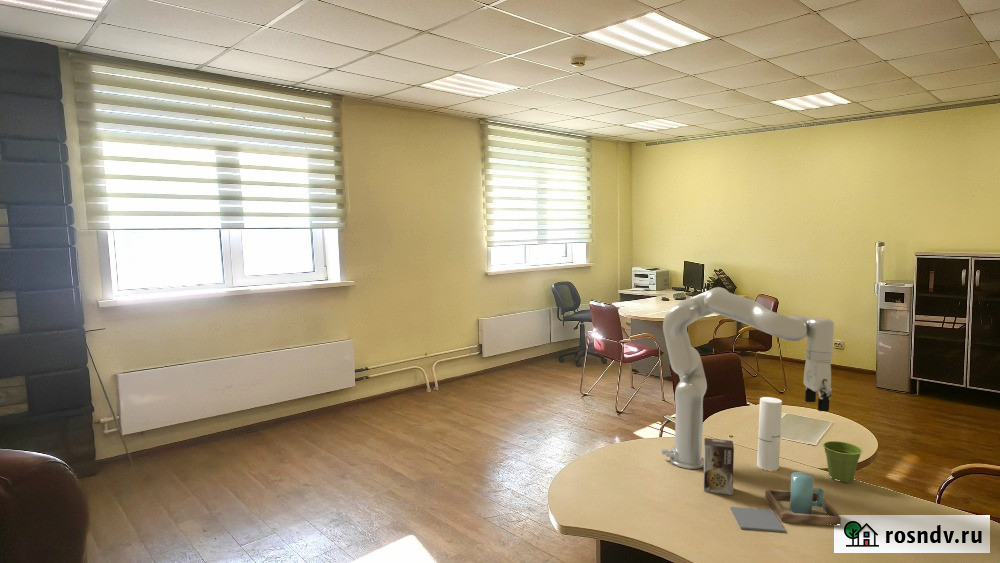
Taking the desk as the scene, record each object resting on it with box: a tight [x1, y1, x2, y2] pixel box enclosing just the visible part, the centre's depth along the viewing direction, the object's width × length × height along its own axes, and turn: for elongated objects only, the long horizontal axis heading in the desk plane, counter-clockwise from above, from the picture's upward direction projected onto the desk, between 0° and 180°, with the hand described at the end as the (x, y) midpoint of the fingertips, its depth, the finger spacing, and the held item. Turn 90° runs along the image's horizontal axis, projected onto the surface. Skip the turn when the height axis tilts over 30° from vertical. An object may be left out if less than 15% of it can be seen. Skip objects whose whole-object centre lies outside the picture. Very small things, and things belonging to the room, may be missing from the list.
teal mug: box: [789, 471, 825, 514], centre depth 171 cm, size 9×6×11 cm, turn 81°
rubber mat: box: [730, 506, 786, 533], centre depth 166 cm, size 12×12×1 cm
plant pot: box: [822, 440, 864, 483], centre depth 194 cm, size 12×12×11 cm
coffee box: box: [702, 437, 735, 496], centre depth 185 cm, size 9×6×16 cm
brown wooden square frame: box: [764, 488, 842, 526], centre depth 172 cm, size 16×16×2 cm
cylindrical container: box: [756, 396, 783, 471], centre depth 202 cm, size 7×7×25 cm
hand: (816, 406), depth 186 cm, fingers open, 9 cm apart
